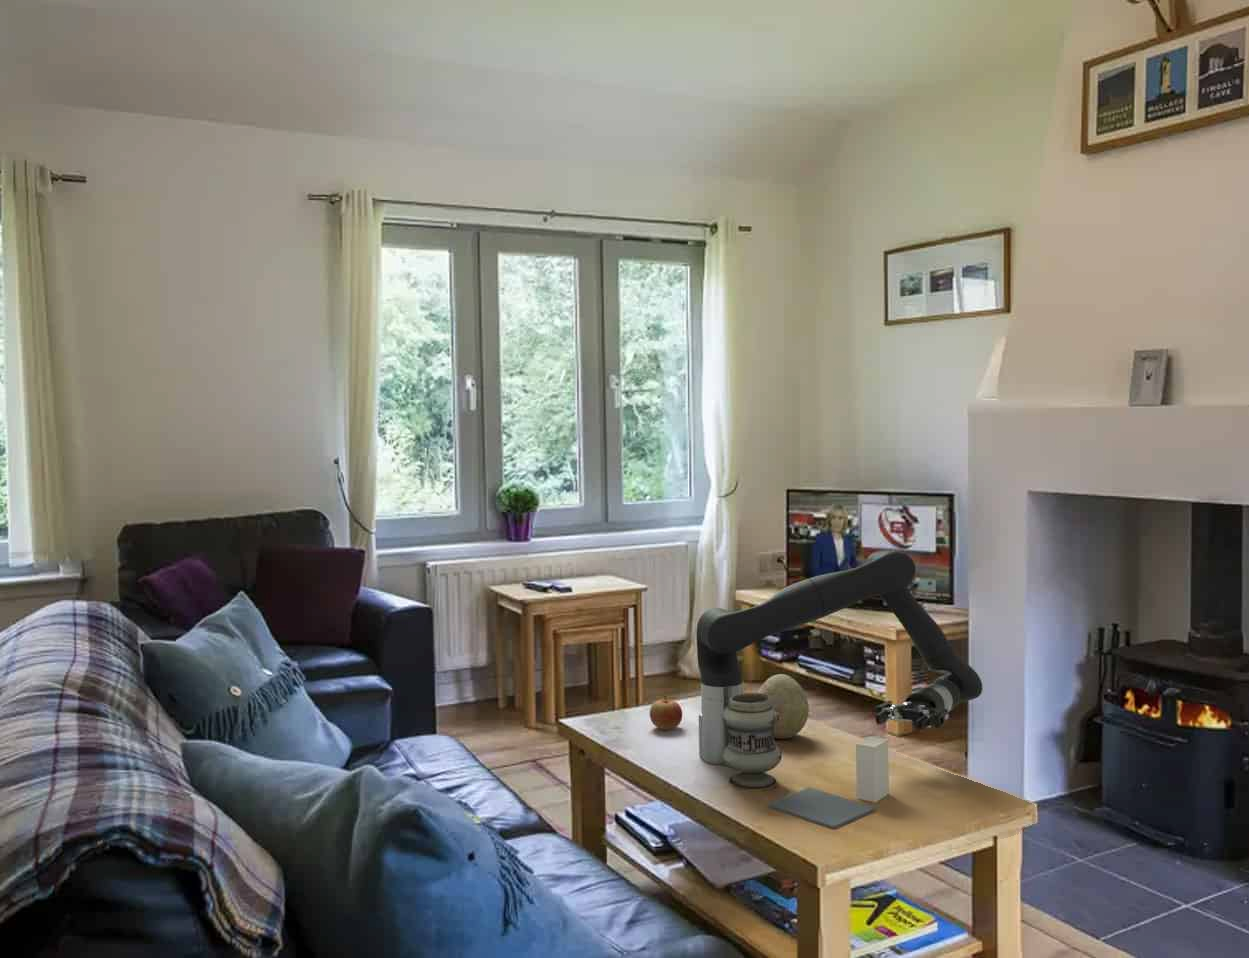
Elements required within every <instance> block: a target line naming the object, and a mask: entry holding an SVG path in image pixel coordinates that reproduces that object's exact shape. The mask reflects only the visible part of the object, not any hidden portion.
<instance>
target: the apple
mask: <svg viewBox="0 0 1249 958" xmlns="http://www.w3.org/2000/svg"><path fill="white" fill-rule="evenodd" d="M663 697H664V699H659V700H655V701H654V702H653V703H652V704H651V705H650V709H649V717H650V721H651V723H652V724H653V726H654V727H656V728H658V729H660V730H673V729H675V728H677V727H678V726H679V725H680V724H681V722H682V719H683V710H682V707H681V706H680V704H679V703H678V702H677V701H675V700H671V699H668V698H667V696H666V695H664V696H663Z"/></svg>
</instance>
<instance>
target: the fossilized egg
mask: <svg viewBox="0 0 1249 958" xmlns="http://www.w3.org/2000/svg"><path fill="white" fill-rule="evenodd" d="M757 693H762V694H766V695H768V696H770V699H771V703H772V706H774V707H775V708H776V709H777V710H778V712H779V721H778V722H777V724H776V725H774V738H775V739H780V740H781V739H789V738H792V737H794V736H796V735H798V734H799V733H800V732H801V731H802V730H803V728H804V727H805V726H806V723H807V720H808V718H809V714H810V706H809V702H808V701H809V700H808V698H807V696H806V692H805V691H804V689H803V688H802V687H801V685H800V684H799V683H798V682H797V681H796V680H795V679H794V678H793V677H791V676H790V675H787V674H784V673H779V674H778V673H777V674H775V675H772V676H770V677H769V678H767V679H766V680H765V682H763V684H762V685H761V686H760V688H759V689H758V691H757Z"/></svg>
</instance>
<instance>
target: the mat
mask: <svg viewBox="0 0 1249 958" xmlns="http://www.w3.org/2000/svg"><path fill="white" fill-rule="evenodd" d="M766 806H767V807H769V808H772V809H774V810H777V811H780V812H784V813H786V814H788V815H791V816H795V817H797V818H800V819H803V820H807V821H809V822H812V823H815V824H817V825H820V826H824V827H827V828H830V829H837V828H839V827H842V826H843V825H845V824H847V823H850V822H852V821H855V820H857V819H860V818H862V817H864V816H867V815H869V814H871V813H873V812H876V810H877V807H875V806H872V805H868V804H865V803H861V802H859V801H855V800H852V799H849V798H846V797H842V796H839V795H836V794H833V793H830V792H826V791H823V790H821V789H817V788H814V787H810V786H809V787H807V788H805V789H801V790H800V791H797V792H794V793H791V794H788V795H786V796H783V797H780V798H779V799H776V800H773V801H771V802H768V803H767V804H766Z"/></svg>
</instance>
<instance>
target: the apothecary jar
mask: <svg viewBox="0 0 1249 958" xmlns="http://www.w3.org/2000/svg"><path fill="white" fill-rule="evenodd" d="M729 702H730V703H729V706H728V707H726V708H725V710H724V711H723V713H722V719H723V721H724V723H725V724H726V725H727V726H728V741H729V742H728V746H727V747H726V748H725V750H724V752H723V759H724V761H725V763H726V764H725V765H726V766H727V767H729V768H730V769H731V770H734V771H736V772H737V773H735V774H733V775H731V777H730V778H729V779H728V783H729V785H731V786H732V787H733V788H735V789H737V790H738V789H739V790H741V791H742V790H743V791H749V792H752V791H753V792H760V791H766V790H770V789H772V788H774V787H775V786H776V785H777V780H776V778H775V777H774V776H773V775H770V774H768V773H767V772H769V771H771V770H773V769H774V768H776V767H777V766H778V765H779V764H780V763H781V761H782V757H783V756H782V751H781V750H780V748H779V747H778V746H777V745H776V741H775V740H776V738H775V737H774V725H776V724H777V722H778V721H779V712H778V710H777V709H776V708H775V707H774V706H772V703H771V699H770V696H768V695H766V694H762V693H758V692H743V693H740V694H736V695H733V696H731V697H730V701H729Z"/></svg>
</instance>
